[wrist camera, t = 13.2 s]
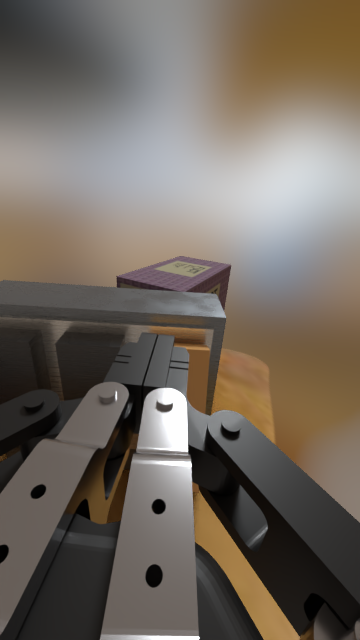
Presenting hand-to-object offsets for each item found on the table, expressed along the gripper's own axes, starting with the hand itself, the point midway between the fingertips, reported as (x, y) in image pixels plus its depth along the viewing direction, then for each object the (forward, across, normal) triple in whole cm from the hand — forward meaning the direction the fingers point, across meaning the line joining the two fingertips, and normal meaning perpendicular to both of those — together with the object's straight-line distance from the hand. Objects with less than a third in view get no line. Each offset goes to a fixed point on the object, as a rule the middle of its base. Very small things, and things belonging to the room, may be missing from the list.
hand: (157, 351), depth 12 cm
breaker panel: (+11, +6, +23) cm, 26 cm away
